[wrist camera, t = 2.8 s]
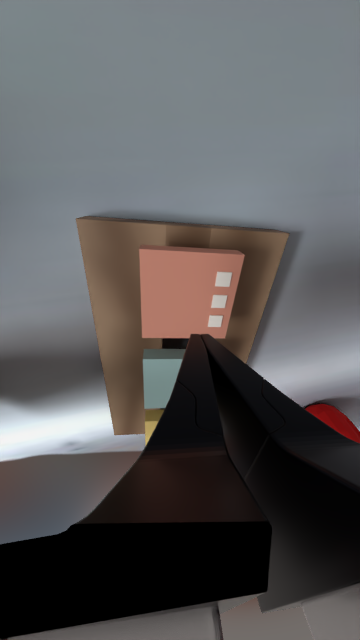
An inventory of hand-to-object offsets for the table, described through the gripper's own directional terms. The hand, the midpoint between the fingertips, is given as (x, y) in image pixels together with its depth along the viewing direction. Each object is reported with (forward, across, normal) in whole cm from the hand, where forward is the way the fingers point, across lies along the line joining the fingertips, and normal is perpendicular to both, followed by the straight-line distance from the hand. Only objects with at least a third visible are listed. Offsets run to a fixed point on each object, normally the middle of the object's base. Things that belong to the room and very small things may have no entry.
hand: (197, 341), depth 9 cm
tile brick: (+7, 0, 0) cm, 7 cm away
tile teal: (+7, 0, +8) cm, 10 cm away
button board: (+9, 0, +8) cm, 12 cm away
